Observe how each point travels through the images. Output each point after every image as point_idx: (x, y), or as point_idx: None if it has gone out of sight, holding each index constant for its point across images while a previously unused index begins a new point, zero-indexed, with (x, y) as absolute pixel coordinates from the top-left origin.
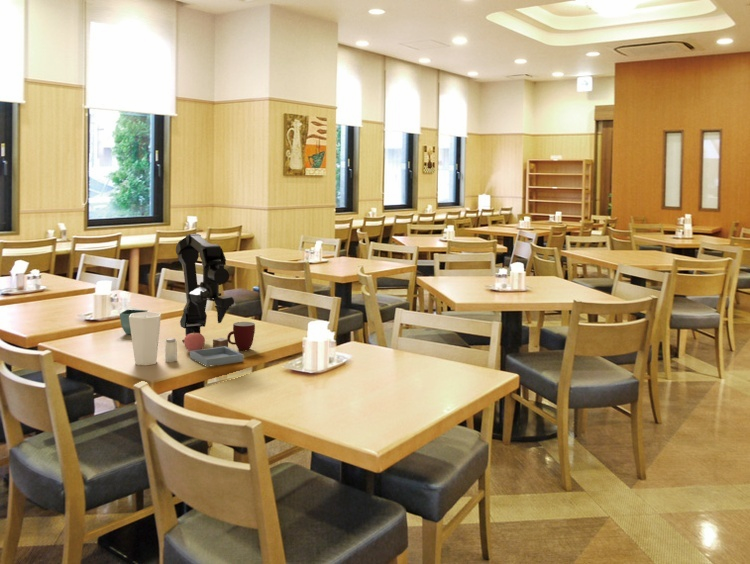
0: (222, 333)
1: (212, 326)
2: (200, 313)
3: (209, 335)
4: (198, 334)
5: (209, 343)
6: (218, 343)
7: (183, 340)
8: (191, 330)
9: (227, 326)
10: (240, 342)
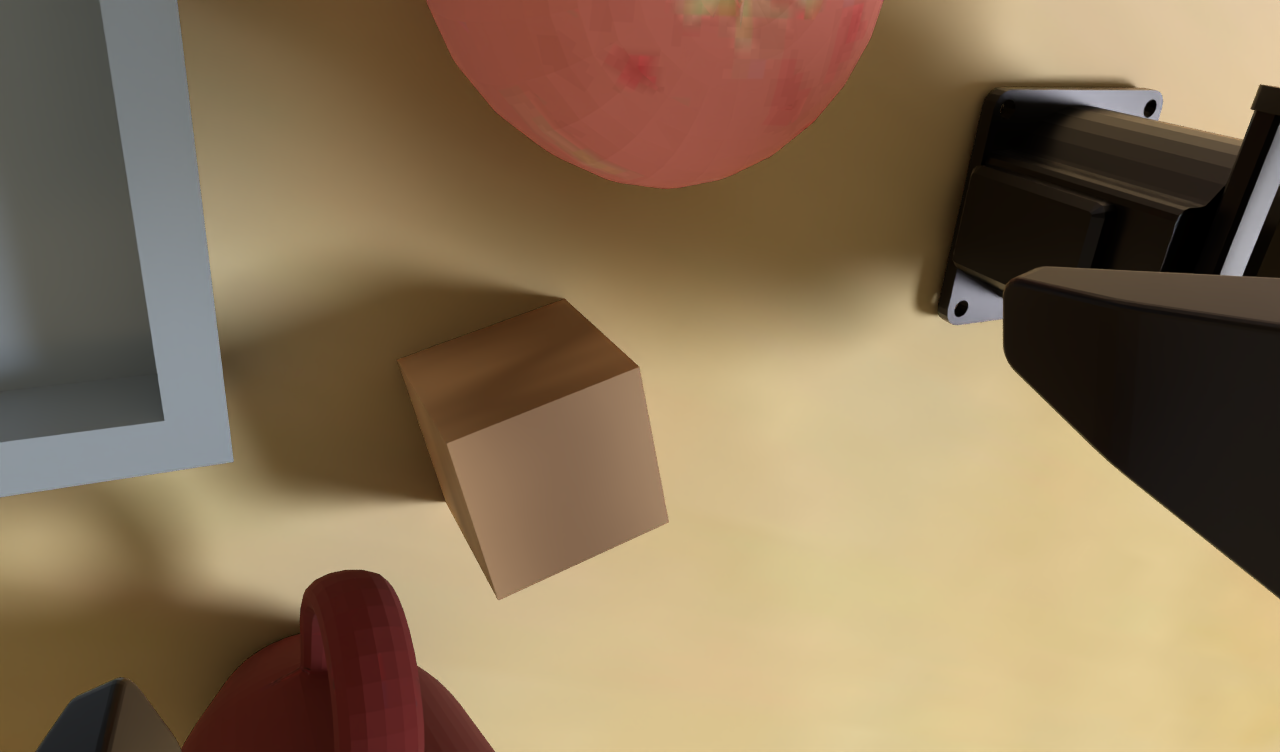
0: (1075, 600)
1: None
2: (1198, 320)
3: (1107, 470)
4: (650, 21)
5: (863, 365)
6: (474, 401)
7: (1133, 94)
8: (1162, 196)
9: (1193, 679)
10: (204, 749)
